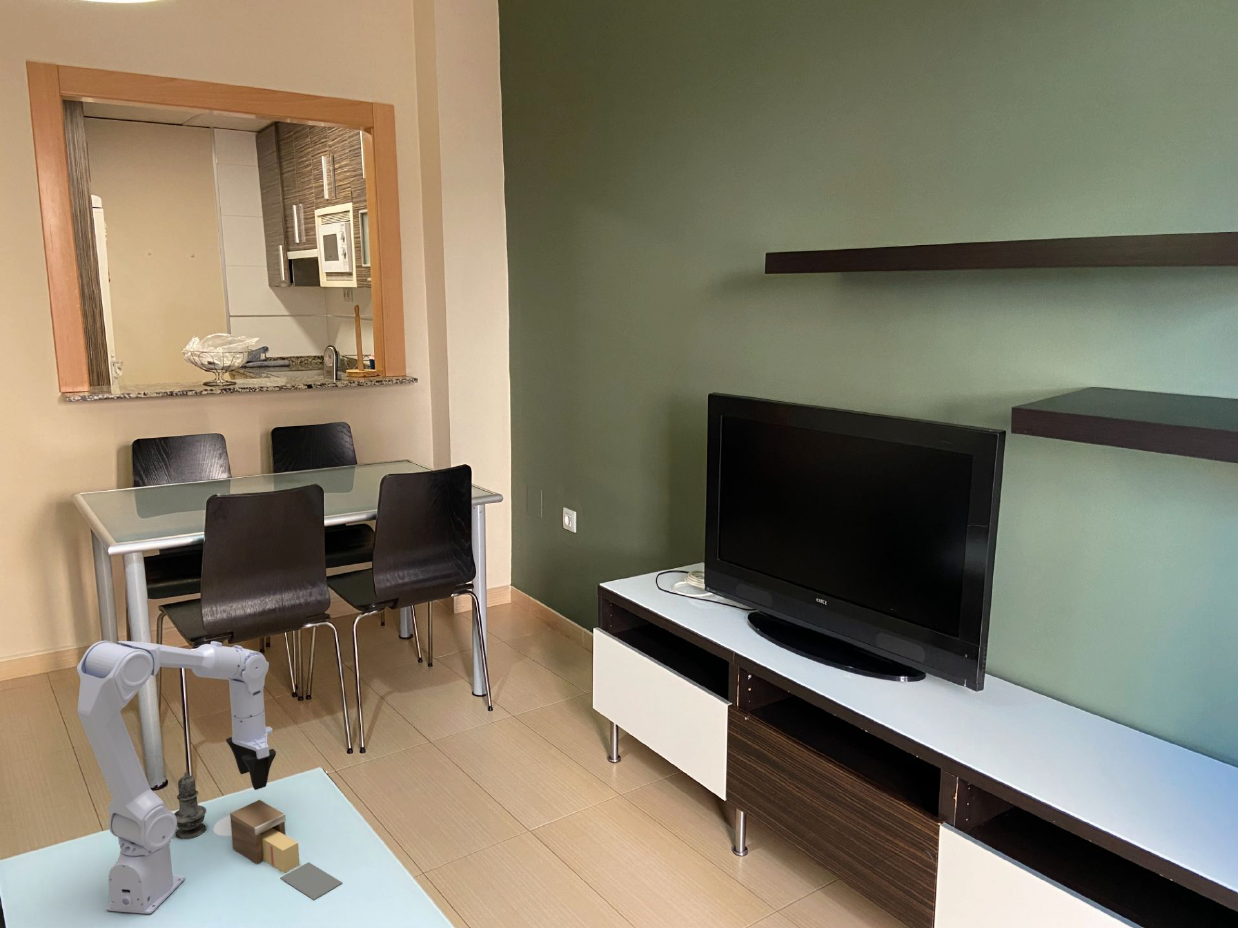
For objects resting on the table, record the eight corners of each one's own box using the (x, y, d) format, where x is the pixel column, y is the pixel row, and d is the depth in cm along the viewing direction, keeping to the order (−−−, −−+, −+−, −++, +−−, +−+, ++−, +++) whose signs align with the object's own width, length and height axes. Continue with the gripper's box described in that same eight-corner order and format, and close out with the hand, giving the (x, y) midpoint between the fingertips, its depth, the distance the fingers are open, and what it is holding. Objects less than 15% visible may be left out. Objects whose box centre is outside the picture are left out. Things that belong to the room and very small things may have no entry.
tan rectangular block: (284, 874, 156) (282, 850, 155) (245, 850, 163) (244, 827, 162) (299, 865, 159) (298, 842, 158) (261, 842, 166) (259, 820, 165)
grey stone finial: (213, 830, 169) (208, 771, 167) (181, 843, 165) (175, 783, 163) (200, 818, 173) (195, 761, 171) (168, 831, 169) (162, 772, 167)
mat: (313, 900, 149) (313, 898, 149) (280, 878, 154) (280, 877, 154) (342, 883, 153) (342, 882, 153) (308, 862, 159) (308, 861, 159)
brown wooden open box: (258, 865, 158) (255, 828, 157) (232, 848, 163) (229, 813, 162) (287, 849, 163) (285, 814, 162) (262, 834, 168) (259, 799, 167)
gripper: (283, 718, 164) (288, 787, 166) (256, 693, 175) (261, 758, 177) (244, 729, 159) (249, 800, 161) (218, 703, 170) (223, 770, 172)
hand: (253, 779), depth 169 cm, fingers open, 7 cm apart
